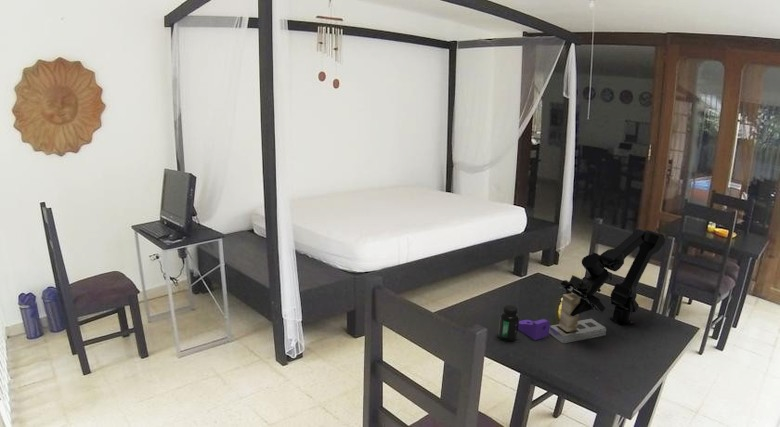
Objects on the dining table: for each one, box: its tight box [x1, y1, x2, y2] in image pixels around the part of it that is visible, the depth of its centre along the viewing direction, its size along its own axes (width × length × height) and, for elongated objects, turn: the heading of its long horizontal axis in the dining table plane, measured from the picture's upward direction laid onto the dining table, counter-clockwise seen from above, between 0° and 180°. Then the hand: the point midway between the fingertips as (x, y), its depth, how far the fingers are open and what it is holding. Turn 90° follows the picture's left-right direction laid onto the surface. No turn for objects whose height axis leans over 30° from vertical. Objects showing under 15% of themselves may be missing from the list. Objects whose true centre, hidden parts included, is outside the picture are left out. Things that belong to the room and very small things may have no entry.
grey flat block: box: [549, 318, 607, 344], centre depth 187 cm, size 20×8×3 cm, turn 111°
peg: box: [558, 293, 581, 333], centre depth 183 cm, size 4×4×13 cm
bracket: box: [518, 318, 551, 341], centre depth 188 cm, size 12×7×7 cm, turn 29°
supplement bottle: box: [498, 304, 520, 342], centre depth 182 cm, size 7×7×12 cm
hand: (566, 312), depth 182 cm, fingers closed on peg, 4 cm apart
